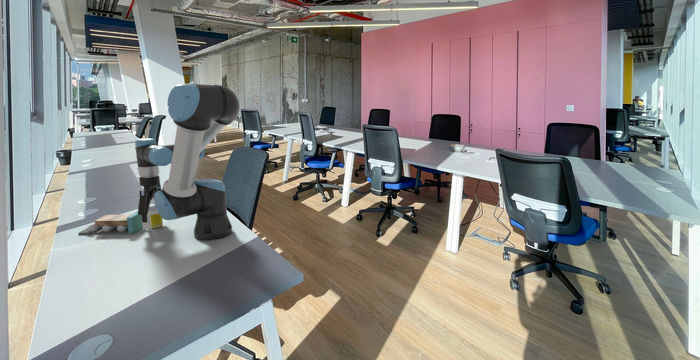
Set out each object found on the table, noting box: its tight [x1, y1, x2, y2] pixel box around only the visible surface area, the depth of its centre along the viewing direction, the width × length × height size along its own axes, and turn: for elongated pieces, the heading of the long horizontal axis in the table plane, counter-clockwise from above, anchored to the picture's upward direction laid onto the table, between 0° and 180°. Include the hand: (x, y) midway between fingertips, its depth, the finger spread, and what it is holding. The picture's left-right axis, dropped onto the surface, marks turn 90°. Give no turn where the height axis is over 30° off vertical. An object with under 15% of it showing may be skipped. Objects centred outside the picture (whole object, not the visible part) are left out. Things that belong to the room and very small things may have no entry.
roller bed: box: [77, 211, 143, 236], centre depth 155 cm, size 22×10×7 cm, turn 94°
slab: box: [94, 214, 132, 225], centre depth 155 cm, size 13×8×2 cm, turn 94°
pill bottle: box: [146, 203, 164, 232], centre depth 155 cm, size 6×6×11 cm
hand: (154, 223), depth 156 cm, fingers open, 13 cm apart
